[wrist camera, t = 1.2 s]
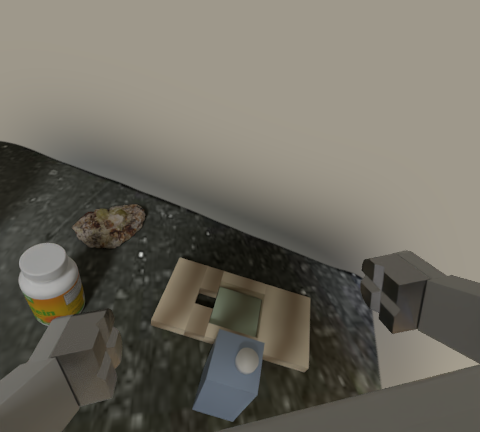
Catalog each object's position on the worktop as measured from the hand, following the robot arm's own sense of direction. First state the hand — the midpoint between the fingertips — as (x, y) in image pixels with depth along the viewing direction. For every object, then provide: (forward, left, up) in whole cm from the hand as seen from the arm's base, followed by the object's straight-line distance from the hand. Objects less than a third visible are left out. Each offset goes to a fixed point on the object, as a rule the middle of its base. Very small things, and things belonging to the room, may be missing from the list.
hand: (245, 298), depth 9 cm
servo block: (+3, +6, -29) cm, 29 cm away
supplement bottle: (-18, +10, -29) cm, 35 cm away
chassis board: (+3, +16, -29) cm, 33 cm away
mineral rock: (-19, +24, -29) cm, 42 cm away
